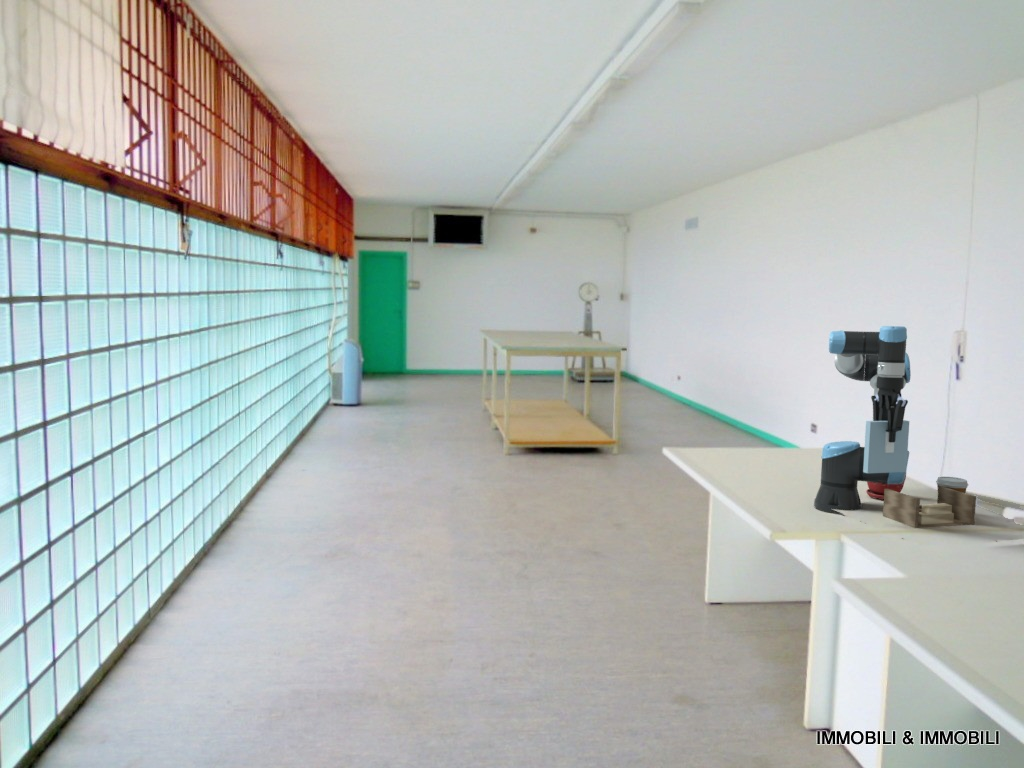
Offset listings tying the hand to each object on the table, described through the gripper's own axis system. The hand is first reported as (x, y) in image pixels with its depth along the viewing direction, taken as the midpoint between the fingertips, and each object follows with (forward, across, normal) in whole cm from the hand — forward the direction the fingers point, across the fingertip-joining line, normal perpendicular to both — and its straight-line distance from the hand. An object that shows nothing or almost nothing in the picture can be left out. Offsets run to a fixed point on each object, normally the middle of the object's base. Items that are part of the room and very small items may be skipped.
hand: (885, 451), depth 235 cm
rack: (+24, -1, +18) cm, 30 cm away
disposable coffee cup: (+25, -11, +36) cm, 45 cm away
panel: (+6, 0, 0) cm, 6 cm away
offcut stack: (+23, +2, +18) cm, 29 cm away
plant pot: (+25, -35, +30) cm, 52 cm away
